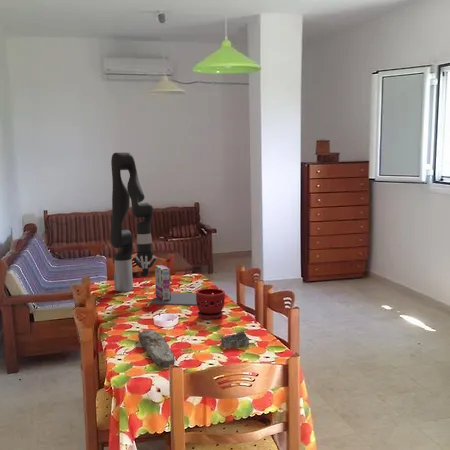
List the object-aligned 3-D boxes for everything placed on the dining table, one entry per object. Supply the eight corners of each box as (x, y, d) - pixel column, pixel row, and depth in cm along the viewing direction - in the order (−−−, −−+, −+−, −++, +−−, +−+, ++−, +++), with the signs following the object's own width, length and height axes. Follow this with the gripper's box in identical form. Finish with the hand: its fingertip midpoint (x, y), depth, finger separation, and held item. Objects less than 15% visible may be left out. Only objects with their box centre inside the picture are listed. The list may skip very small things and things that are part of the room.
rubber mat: (150, 304, 269) (150, 302, 268) (162, 293, 288) (162, 292, 288) (197, 305, 264) (197, 304, 264) (205, 294, 284) (205, 293, 284)
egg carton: (245, 340, 216) (245, 330, 216) (250, 346, 209) (250, 336, 209) (219, 343, 214) (219, 333, 213) (224, 349, 206) (224, 339, 206)
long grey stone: (153, 374, 189) (180, 370, 192) (154, 359, 188) (181, 357, 191) (133, 337, 221) (157, 335, 224) (133, 324, 220) (157, 322, 223)
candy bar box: (171, 300, 273) (170, 268, 270) (162, 301, 270) (161, 269, 268) (164, 294, 283) (163, 264, 280) (155, 296, 280) (154, 265, 278)
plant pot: (222, 321, 239) (221, 295, 238) (193, 320, 242) (192, 294, 240) (227, 312, 252) (227, 287, 250) (200, 311, 255) (199, 286, 253)
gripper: (129, 243, 271) (131, 277, 274) (154, 243, 269) (156, 277, 272) (134, 241, 279) (136, 273, 281) (158, 240, 277) (160, 273, 279)
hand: (146, 275), depth 276 cm, fingers closed
